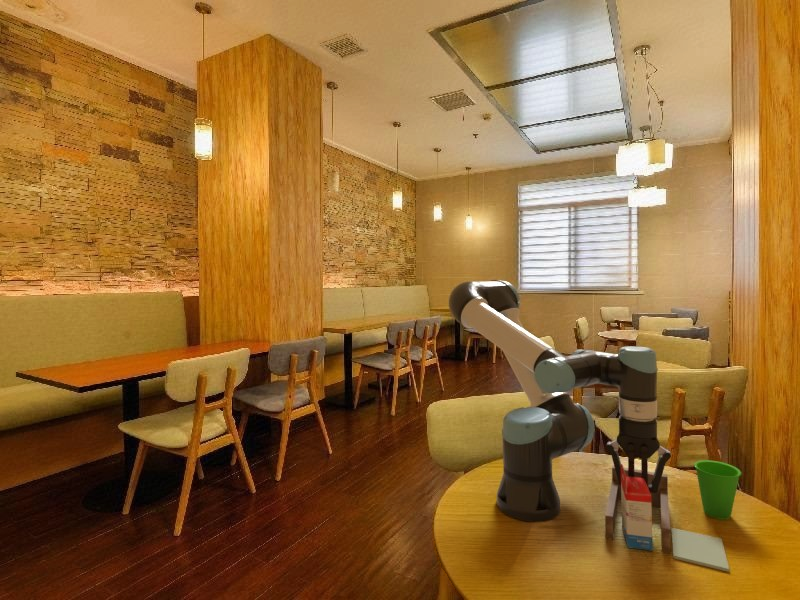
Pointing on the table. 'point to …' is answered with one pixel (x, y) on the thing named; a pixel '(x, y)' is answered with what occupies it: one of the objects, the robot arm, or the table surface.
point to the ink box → (636, 512)
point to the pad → (699, 549)
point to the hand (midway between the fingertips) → (638, 519)
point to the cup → (717, 487)
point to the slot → (656, 501)
